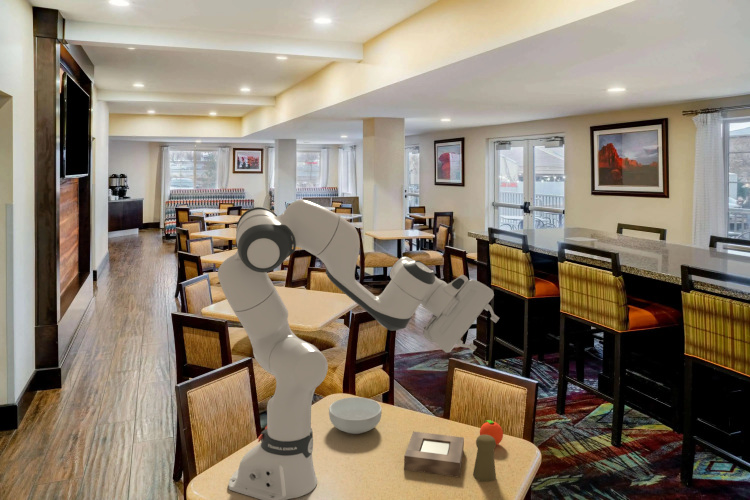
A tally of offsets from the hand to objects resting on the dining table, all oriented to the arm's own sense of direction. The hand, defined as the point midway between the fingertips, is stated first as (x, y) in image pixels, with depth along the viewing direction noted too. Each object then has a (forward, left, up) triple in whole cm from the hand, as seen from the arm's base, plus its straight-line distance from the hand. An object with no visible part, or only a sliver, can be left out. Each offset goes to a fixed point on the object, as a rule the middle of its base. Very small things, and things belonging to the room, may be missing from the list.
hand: (486, 334), depth 139 cm
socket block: (-13, +7, -39) cm, 42 cm away
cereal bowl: (-40, +20, -40) cm, 60 cm away
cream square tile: (-13, +7, -37) cm, 40 cm away
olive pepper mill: (+1, +2, -40) cm, 40 cm away
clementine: (+2, +21, -40) cm, 45 cm away
